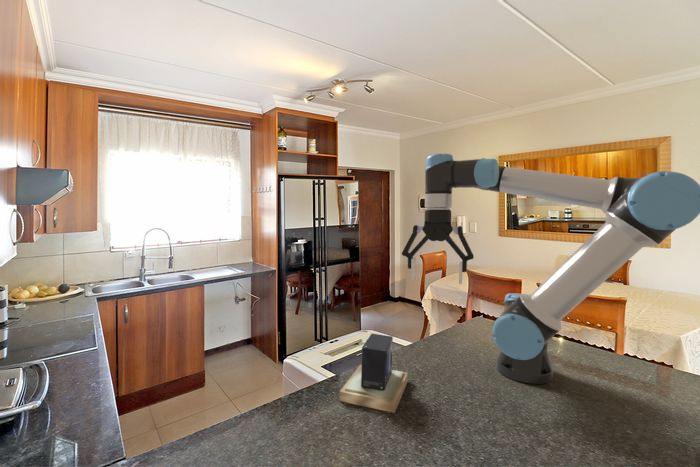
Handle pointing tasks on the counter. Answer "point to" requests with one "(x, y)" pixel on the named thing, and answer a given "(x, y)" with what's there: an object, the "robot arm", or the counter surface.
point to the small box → (376, 361)
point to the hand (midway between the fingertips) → (436, 281)
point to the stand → (375, 391)
